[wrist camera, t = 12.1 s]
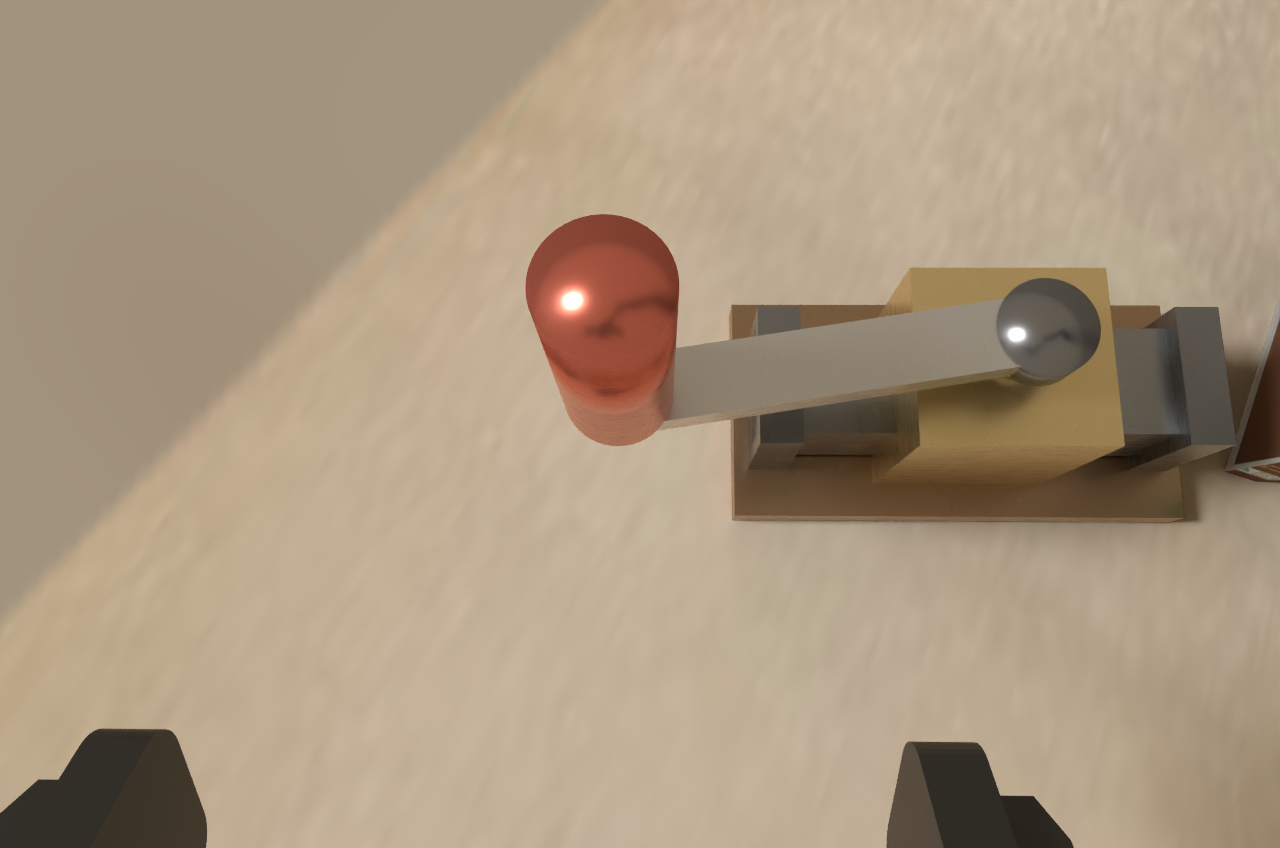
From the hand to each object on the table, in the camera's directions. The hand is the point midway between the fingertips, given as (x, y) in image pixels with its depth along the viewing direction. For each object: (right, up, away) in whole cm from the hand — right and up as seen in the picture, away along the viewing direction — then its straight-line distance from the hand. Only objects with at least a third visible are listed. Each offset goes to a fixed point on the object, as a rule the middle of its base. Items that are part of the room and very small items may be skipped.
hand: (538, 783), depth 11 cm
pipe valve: (+13, +4, +26) cm, 29 cm away
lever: (+6, +6, +17) cm, 19 cm away
